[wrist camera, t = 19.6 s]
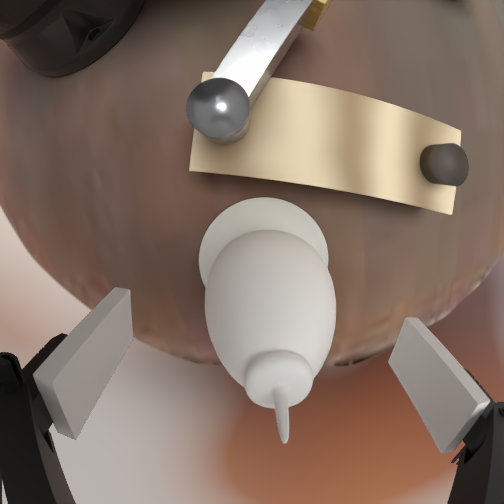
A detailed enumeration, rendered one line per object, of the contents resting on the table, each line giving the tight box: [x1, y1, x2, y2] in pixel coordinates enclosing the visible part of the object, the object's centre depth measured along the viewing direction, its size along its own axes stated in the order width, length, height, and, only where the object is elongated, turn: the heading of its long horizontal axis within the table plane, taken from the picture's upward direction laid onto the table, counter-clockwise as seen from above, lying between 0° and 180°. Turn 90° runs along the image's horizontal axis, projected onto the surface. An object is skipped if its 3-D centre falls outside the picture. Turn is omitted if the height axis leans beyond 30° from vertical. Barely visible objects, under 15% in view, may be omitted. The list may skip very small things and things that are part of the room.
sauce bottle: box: [205, 229, 336, 444], centre depth 16 cm, size 8×8×18 cm
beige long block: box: [189, 72, 469, 215], centre depth 19 cm, size 20×7×8 cm, turn 83°
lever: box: [186, 0, 332, 145], centre depth 14 cm, size 14×4×4 cm, turn 152°
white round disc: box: [199, 197, 328, 288], centre depth 25 cm, size 11×11×1 cm
